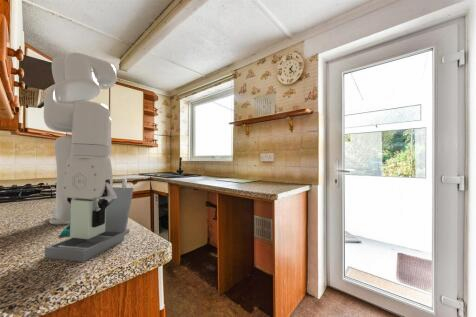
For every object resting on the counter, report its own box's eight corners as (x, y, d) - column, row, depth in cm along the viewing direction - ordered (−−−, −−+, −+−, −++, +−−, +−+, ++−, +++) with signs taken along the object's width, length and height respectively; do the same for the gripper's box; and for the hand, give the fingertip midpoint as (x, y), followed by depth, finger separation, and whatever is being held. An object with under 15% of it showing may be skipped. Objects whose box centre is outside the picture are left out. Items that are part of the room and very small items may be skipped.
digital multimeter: (96, 223, 72) (96, 215, 72) (92, 236, 59) (92, 226, 59) (70, 226, 68) (70, 218, 68) (60, 241, 55) (60, 231, 56)
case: (44, 261, 44) (44, 247, 44) (92, 240, 56) (92, 229, 56) (83, 265, 42) (83, 251, 42) (124, 242, 54) (124, 231, 54)
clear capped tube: (116, 236, 58) (117, 179, 58) (122, 234, 60) (123, 178, 61) (123, 237, 58) (125, 179, 58) (129, 234, 60) (130, 178, 60)
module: (69, 237, 48) (71, 197, 47) (88, 229, 52) (89, 193, 52) (87, 239, 47) (89, 198, 47) (105, 231, 52) (106, 195, 52)
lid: (101, 186, 59) (104, 187, 60) (92, 229, 56) (96, 229, 57) (132, 187, 57) (134, 188, 58) (124, 231, 54) (127, 231, 55)
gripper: (45, 150, 47) (43, 226, 47) (108, 152, 44) (106, 233, 44) (76, 151, 55) (74, 217, 55) (131, 153, 52) (129, 222, 52)
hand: (88, 223), depth 50 cm, fingers closed on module, 5 cm apart
